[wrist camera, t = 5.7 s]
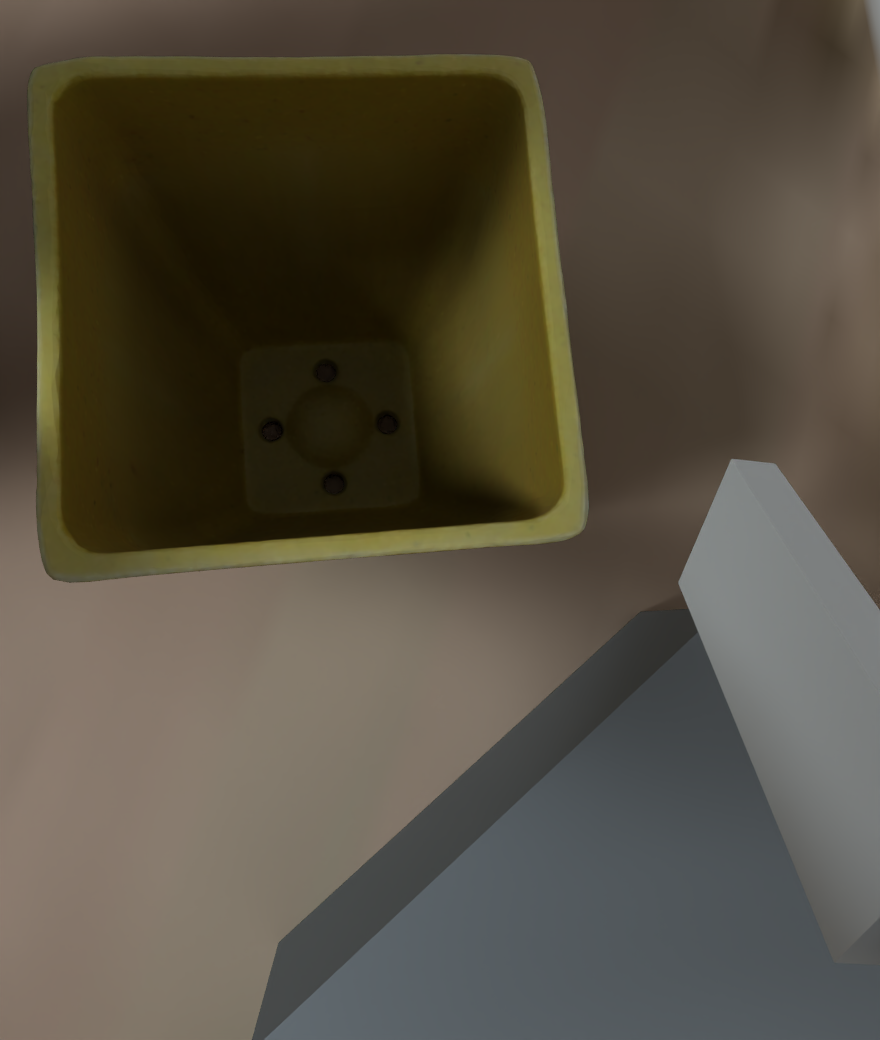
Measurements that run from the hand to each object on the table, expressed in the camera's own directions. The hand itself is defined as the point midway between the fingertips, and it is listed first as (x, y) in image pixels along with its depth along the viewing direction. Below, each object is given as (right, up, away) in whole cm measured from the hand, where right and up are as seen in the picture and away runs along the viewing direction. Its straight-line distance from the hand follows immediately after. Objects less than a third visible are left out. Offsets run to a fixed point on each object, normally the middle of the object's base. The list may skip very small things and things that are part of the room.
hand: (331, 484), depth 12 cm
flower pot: (-1, +2, +9) cm, 9 cm away
